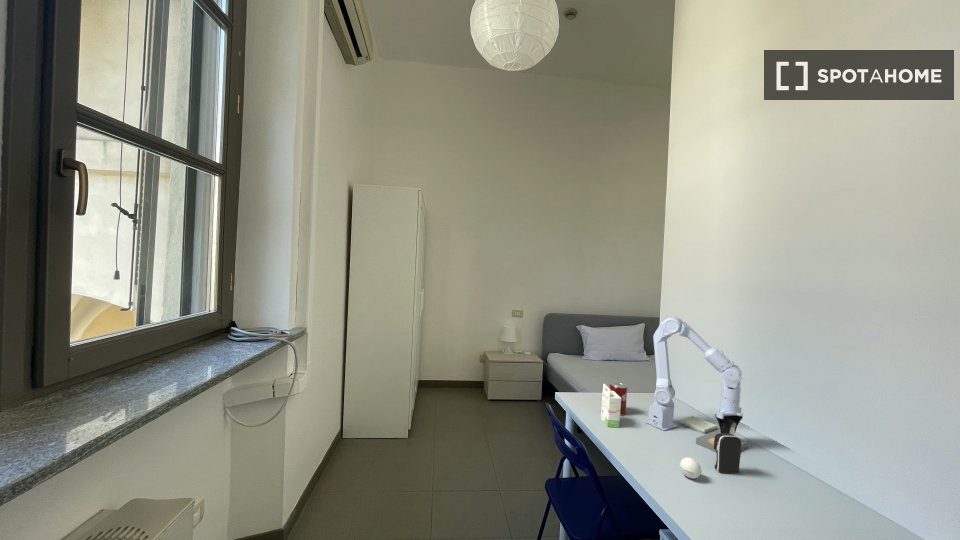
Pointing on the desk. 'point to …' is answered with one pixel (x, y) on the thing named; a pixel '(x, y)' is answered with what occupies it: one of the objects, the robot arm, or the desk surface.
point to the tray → (698, 424)
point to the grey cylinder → (732, 428)
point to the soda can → (620, 394)
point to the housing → (705, 443)
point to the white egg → (690, 468)
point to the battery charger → (727, 453)
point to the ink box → (610, 408)
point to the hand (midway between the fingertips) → (727, 434)
